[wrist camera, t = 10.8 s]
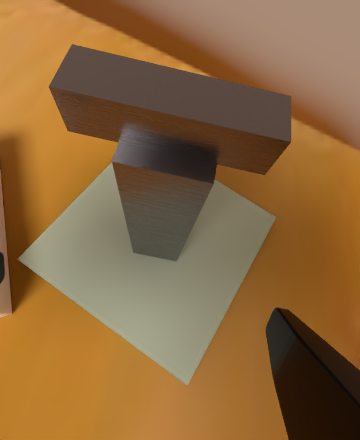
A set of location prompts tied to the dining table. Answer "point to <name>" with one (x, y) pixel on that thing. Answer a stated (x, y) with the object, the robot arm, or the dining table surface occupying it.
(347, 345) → the dining table surface
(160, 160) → the t key
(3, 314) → the socket block
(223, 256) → the pad
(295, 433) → the robot arm
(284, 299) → the dining table surface
